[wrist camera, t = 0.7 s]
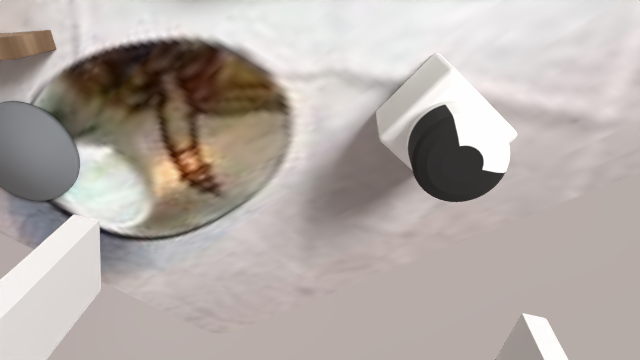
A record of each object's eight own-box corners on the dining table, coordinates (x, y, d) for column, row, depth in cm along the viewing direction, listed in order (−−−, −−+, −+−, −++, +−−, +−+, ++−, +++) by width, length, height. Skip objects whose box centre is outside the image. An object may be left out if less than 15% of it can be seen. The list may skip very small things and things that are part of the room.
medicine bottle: (429, 164, 40) (456, 234, 29) (373, 112, 38) (380, 165, 27) (492, 108, 37) (548, 162, 26) (435, 50, 35) (470, 82, 25)
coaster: (-43, 124, 42) (-51, 127, 41) (35, 84, 39) (29, 86, 39) (24, 209, 45) (18, 213, 45) (99, 177, 43) (95, 180, 42)
